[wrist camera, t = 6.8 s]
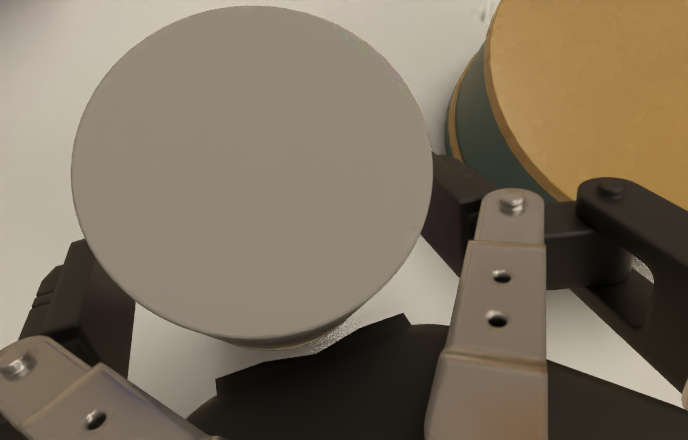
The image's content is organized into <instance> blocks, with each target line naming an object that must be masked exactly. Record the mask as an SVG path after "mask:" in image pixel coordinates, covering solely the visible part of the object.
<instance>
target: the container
mask: <svg viewBox="0 0 688 440" xmlns="http://www.w3.org/2000/svg"><path fill="white" fill-rule="evenodd" d="M432 184H433V161H432V151H431V144H430V140H429V136H428V131H427V128H426V125H425V122H424V119H423V116H422V114H421V111H420V109H419V106H418V104H417V103H416V101H415V99H414V97H413V95H412V93H411V91H410V90H409V88H408V87H407V85H406V84H405V82H404V81H403V80H402V78H401V77H400V75H399V74H398V73H397V72H396V71H395V69H394V68H393V67H392V66H391V65H390V64H389V63H388V62H387V60H386V59H385V58H384V57H383V56H382V55H381V54H379V53H378V52H377V51H376V50H375V49H374V48H372V47H371V46H370V45H369V44H367V43H366V42H365V41H363V40H362V39H360V38H359V37H357V36H356V35H354V34H353V33H351V32H349V31H347V30H345V29H344V28H342V27H340V26H338V25H336V24H334V23H331V22H329V21H327V20H325V19H322V18H319V17H316V16H313V15H310V14H307V13H303V12H299V11H295V10H290V9H286V8H279V7H269V6H236V7H228V8H221V9H215V10H210V11H206V12H202V13H198V14H195V15H192V16H189V17H186V18H183V19H181V20H179V21H176V22H174V23H172V24H170V25H168V26H166V27H164V28H162V29H160V30H158V31H157V32H155V33H153V34H151V35H150V36H148V37H147V38H145V39H144V40H143V41H141V42H140V43H139V44H137V45H136V46H135V47H133V48H132V49H131V50H129V51H128V52H127V53H126V54H125V55H124V56H123V57H122V58H121V59H120V60H119V61H118V62H117V63H116V64H115V65H114V66H113V67H112V68H111V69H110V71H109V72H108V73H107V74H106V75H105V77H104V78H103V80H102V81H101V82H100V84H99V85H98V87H97V88H96V89H95V91H94V93H93V95H92V97H91V98H90V100H89V102H88V104H87V106H86V108H85V111H84V113H83V115H82V118H81V121H80V123H79V126H78V130H77V133H76V137H75V141H74V147H73V153H72V163H71V187H72V195H73V202H74V206H75V211H76V215H77V218H78V221H79V224H80V227H81V230H82V232H83V234H84V237H85V239H86V241H87V243H88V245H89V247H90V249H91V251H92V252H93V254H94V256H95V257H96V259H97V261H98V262H99V263H100V265H101V266H102V268H103V269H104V270H105V272H106V273H107V274H108V275H109V276H110V278H111V279H112V280H113V281H114V282H115V283H116V284H117V285H118V286H119V287H120V288H121V289H122V290H123V291H124V292H125V293H126V294H127V295H129V296H130V297H131V298H132V299H133V300H135V301H136V302H137V303H139V304H140V305H141V306H143V307H144V308H146V309H147V310H149V311H151V312H152V313H154V314H156V315H157V316H159V317H161V318H163V319H165V320H167V321H169V322H171V323H174V324H176V325H178V326H181V327H183V328H186V329H189V330H192V331H195V332H198V333H201V334H204V335H207V336H210V337H213V338H216V339H219V340H222V341H225V342H228V343H230V344H233V345H236V346H239V347H243V348H247V349H253V350H261V351H276V350H288V349H293V348H297V347H300V346H303V345H306V344H309V343H311V342H314V341H316V340H318V339H320V338H322V337H324V336H325V335H327V334H329V333H330V332H332V331H333V330H335V329H336V328H337V327H339V326H340V325H341V324H342V323H343V322H344V321H345V320H346V319H347V318H348V317H350V316H351V315H352V314H353V313H354V312H355V311H357V310H358V309H359V308H360V307H361V306H362V305H363V304H365V303H366V302H367V301H368V300H369V299H370V298H371V297H373V296H374V295H375V294H376V293H377V292H378V291H380V290H381V289H382V288H383V287H384V286H385V285H386V284H387V283H388V282H389V281H390V279H391V278H392V277H393V276H394V275H395V274H396V273H397V271H398V270H399V269H400V267H401V266H402V265H403V263H404V262H405V260H406V259H407V257H408V256H409V254H410V252H411V251H412V249H413V247H414V245H415V243H416V241H417V239H418V237H419V235H420V233H421V230H422V228H423V225H424V222H425V219H426V216H427V213H428V208H429V204H430V200H431V193H432Z"/></svg>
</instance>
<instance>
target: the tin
mask: <svg viewBox="0 0 688 440" xmlns="http://www.w3.org/2000/svg"><path fill="white" fill-rule="evenodd" d="M445 141H446V150H447V155H448V156H449V157H452V158H456V159H458V160H460V161H461V162H463V163H464V164H466V165H467V166H468V168H471V169H473V170H474V171H475V172H477V174H480V175H481V176H482V177H484V178H485V179H487V180H488V181H489V182H491V183H492V184H494V185H495V186H497V187H498V188H499V189H505V188H520V189H526V190H529V191H532V192H534V193H536V194H538V195H539V196H541V197H542V199H543V200H544V204H546V203H556V202H565V201H574V200H576V198H577V189H578V186H579V185H580V184H581V183H582V182H584V181H586V180H589V179H593V178H599V177H615V178H622V179H626V180H630V181H633V182H635V183H637V184H639V185H641V186H643V187H644V188H646V189H648V190H650V191H652V192H654V193H656V194H657V195H659V196H661V197H663V198H665V199H667V200H668V201H670V202H672V203H674V204H676V205H678V206H680V207H681V208H683V209H685V210H687V211H688V0H501V1H500V3H499V5H498V7H497V9H496V11H495V13H494V15H493V17H492V19H491V22H490V25H489V29H488V32H487V35H486V40H485V41H484V43H483V45H482V46H481V48H480V50H479V51H478V52H477V53H476V54H475V55H474V57H473V58H472V59H471V61H470V62H469V64H468V65H467V66H466V68H465V70H464V71H463V73H462V75H461V77H460V79H459V81H458V83H457V85H456V87H455V90H454V93H453V95H452V98H451V101H450V104H449V107H448V111H447V117H446V123H445Z"/></svg>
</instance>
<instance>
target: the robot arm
mask: <svg viewBox="0 0 688 440" xmlns="http://www.w3.org/2000/svg"><path fill="white" fill-rule="evenodd" d="M432 161H433V184H432V193H431V200H430V204H429V208H428V213H427V216H426V219H425V222H424V225H423V228H422V230H421V233H420V234H421V235H422V237H423V238H424V239H425V240H426V241H427V242H428V243H429V244H430V245H431V247H432V248H433V249H434V250H435V251H436V252H437V253H438V254H439V256H440V257H441V258H442V259H443V260H444V261H445V262H446V263H447V265H448V266H449V267H450V268H451V269H452V270H453V271H454V272H455V273H456V275H457V276H458V277H459V278H460V281H459V286H458V290H457V295H456V299H455V304H454V308H453V313H452V318H451V322H450V326H446V325H438V324H418V325H411V324H410V323H409V321H408V319H407V318H406V316H405V315H404V313H401V314H398V315H396V316H393V317H390V318H387V319H384V320H381V321H379V322H376V323H373V324H370V325H367V326H364V327H362V328H359V329H357V330H356V331H354V332H352V333H351V334H349V335H347V336H346V337H344V338H342V339H341V340H339V341H337V342H336V343H334V344H332V345H331V346H329V347H327V348H326V349H324V350H322V351H321V352H319V353H316V354H313V355H307V356H300V357H294V358H287V359H280V360H273V361H267V362H262V363H260V364H257V365H254V366H251V367H248V368H245V369H243V370H240V371H237V372H234V373H231V374H228V375H226V376H223V377H220V378H217V379H215V380H216V390H217V395H216V396H214V397H213V398H211V399H210V400H208V401H207V402H205V403H204V404H203V405H201V406H200V407H199V408H198V409H196V410H195V411H194V412H193V413H192V414H191V415H189V416H188V417H187V418H186V420H185V419H184V418H182V417H181V416H179V415H178V414H176V413H175V412H173V411H172V410H171V409H169V408H168V407H166V406H165V405H163V404H162V403H160V402H159V401H158V400H156V399H155V398H153V397H152V396H150V395H149V394H147V393H146V392H144V391H143V390H142V389H140V388H139V387H137V386H136V385H134V384H133V383H131V382H130V381H128V380H127V378H128V369H129V359H130V350H131V341H132V332H133V322H134V313H135V303H136V302H135V300H133V299H132V298H131V297H130V296H129V295H127V294H126V293H125V292H124V291H123V290H122V289H121V288H120V287H119V286H118V285H117V284H116V283H115V282H114V281H113V280H112V279H111V278H110V276H109V275H108V274H107V273H106V272H105V270H104V269H103V268H102V266H101V265H100V263H99V262H98V261H97V259H96V257H95V256H94V254H93V252H92V251H91V249H90V247H89V245H88V243H87V241H86V239H82V240H78V241H75V242H72V243H71V245H70V247H69V250H68V253H67V256H66V259H65V262H64V264H63V265H60V266H56V267H55V268H54V269H53V270H52V271H51V272H50V273H49V274H48V275H47V276H46V277H45V279H44V280H43V281H42V282H41V285H40V287H39V290H38V292H37V295H36V296H37V298H35V300H34V302H33V304H32V309H31V310H30V312H29V314H28V317H27V319H26V322H25V324H24V327H23V329H22V332H21V334H20V337H19V339H18V341H16V342H14V343H12V344H10V345H8V346H7V347H5V348H3V349H2V350H0V440H688V211H687V210H685V209H683V208H681V207H680V206H678V205H676V204H674V203H672V202H670V201H668V200H667V199H665V198H663V197H661V196H659V195H657V194H656V193H654V192H652V191H650V190H648V189H646V188H644V187H643V186H641V185H639V184H637V183H635V182H633V181H630V180H626V179H622V178H615V177H599V178H593V179H589V180H586V181H584V182H582V183H581V184H580V185H579V186H578V189H577V198H576V200H574V201H565V202H556V203H546V204H544V200H543V199H542V197H541V196H539V195H538V194H536V193H534V192H532V191H529V190H526V189H520V188H505V189H499V188H498V187H497V186H495V185H494V184H492V183H491V182H489V181H488V180H487V179H485V178H484V177H482V176H481V175H480V174H477V172H475V171H474V170H473V169H471V168H468V166H467V165H466V164H464V163H463V162H461V161H460V160H458V159H456V158H452V157H449V156H446V155H439V156H438V155H436V154H435V153H434V152H432ZM634 256H635V257H637V258H638V259H639V260H641V261H642V262H643V263H645V264H646V265H647V267H648V268H649V269H650V271H651V273H652V275H653V278H654V284H653V283H652V282H650V281H649V280H648V279H646V278H645V277H643V276H642V275H641V274H639V273H638V272H637V271H635V270H634V269H633V268H632V264H633V259H634ZM567 288H570V290H571V291H572V292H573V293H574V294H576V295H577V296H578V297H579V298H580V299H581V300H582V301H583V302H584V303H585V304H586V305H587V306H588V307H589V308H590V309H592V310H593V311H594V312H595V313H596V314H597V315H598V316H599V317H600V318H601V319H602V320H603V321H604V322H605V323H607V324H608V325H609V326H610V327H611V328H612V329H613V330H614V331H615V332H616V333H617V334H618V335H619V336H620V337H622V338H623V339H624V340H625V341H626V342H627V343H628V344H629V345H630V346H631V347H632V348H633V349H634V350H635V351H636V352H638V353H639V354H640V355H641V356H642V357H643V358H644V359H645V360H646V361H647V362H648V363H649V364H650V365H651V366H653V367H654V368H655V369H656V370H657V371H658V372H659V373H660V374H661V375H662V376H663V377H664V378H665V379H666V380H668V381H669V382H670V383H671V384H672V385H673V386H674V387H675V388H676V389H677V390H678V391H679V392H680V393H681V394H682V405H683V407H684V409H682V408H680V407H677V406H675V405H672V404H670V403H667V402H664V401H661V400H659V399H656V398H653V397H650V396H647V395H645V394H642V393H639V392H636V391H633V390H631V389H628V388H625V387H622V386H620V385H617V384H614V383H611V382H608V381H606V380H603V379H600V378H597V377H594V376H592V375H589V374H586V373H583V372H581V371H578V370H575V369H572V368H569V367H567V366H564V365H561V364H558V363H555V362H553V361H550V360H547V359H546V290H556V289H567Z"/></svg>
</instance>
